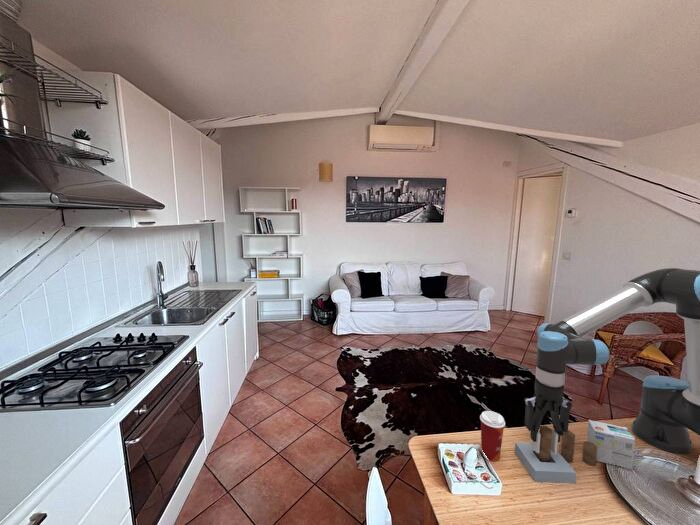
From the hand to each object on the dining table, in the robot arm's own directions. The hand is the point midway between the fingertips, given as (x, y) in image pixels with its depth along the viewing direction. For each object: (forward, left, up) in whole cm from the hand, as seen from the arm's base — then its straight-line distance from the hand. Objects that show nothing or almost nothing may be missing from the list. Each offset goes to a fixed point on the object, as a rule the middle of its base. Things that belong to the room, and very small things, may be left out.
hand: (544, 450), depth 94 cm
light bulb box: (-24, -5, -6) cm, 25 cm away
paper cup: (+15, -4, -6) cm, 17 cm away
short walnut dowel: (-16, -3, -6) cm, 18 cm away
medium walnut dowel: (-10, -4, -6) cm, 12 cm away
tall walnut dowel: (0, 0, -6) cm, 6 cm away
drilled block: (0, 0, -6) cm, 6 cm away
